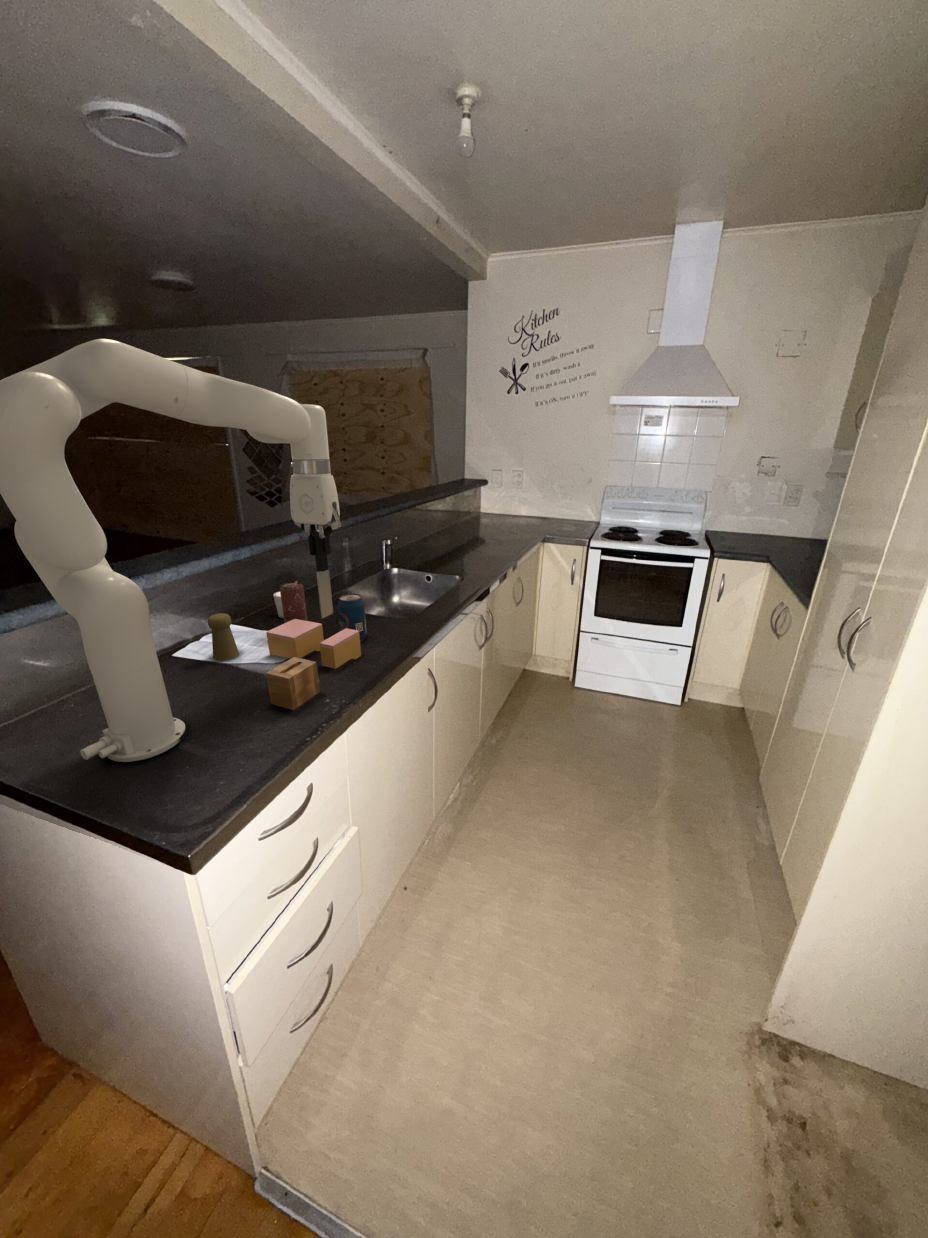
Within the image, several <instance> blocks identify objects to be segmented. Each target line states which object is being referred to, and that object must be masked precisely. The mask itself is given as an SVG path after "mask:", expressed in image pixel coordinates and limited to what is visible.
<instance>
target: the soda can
mask: <svg viewBox="0 0 928 1238" xmlns="http://www.w3.org/2000/svg"><path fill="white" fill-rule="evenodd" d="M337 611H338V622H339V632H340V631H342V630H344V629H346V628H347V629H352V630H358V631H359V635H360V643H361V642H363V641H364V640H365V639H366V637H367V635H368V631H367V630H368V629H367V619H366V606H365V601H364V599H363V598H362V595H361V594H358V593H346V594H342V595H340V596H339V598H338V602H337Z"/></svg>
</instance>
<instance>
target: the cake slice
mask: <svg viewBox="0 0 928 1238" xmlns="http://www.w3.org/2000/svg"><path fill="white" fill-rule="evenodd" d="M319 644H320V651H319V652H320V661H321V667H326V668H330V669H335V670H336V669H337V668H340V667H341V666H342V665H344V664H346V663H347V662H348V661H350V660H358V658H361V657H362V649H361V647H362V646H361V642H360V635H359V631H358V630H352V629H347V628H346V629H344V630H342V631H340V630H339V631H338V632H336V633H335V634H333V635H331V636H329V637H328V638H326V639H324V641H322V642H320V643H319Z"/></svg>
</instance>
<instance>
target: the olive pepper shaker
mask: <svg viewBox="0 0 928 1238" xmlns="http://www.w3.org/2000/svg"><path fill="white" fill-rule="evenodd" d="M231 625H232V618H231V616H230V615H229V614H227V613H224V612H223V613H221V612H220V613H215V614H212V615H210V616H208V619H207V626H208V628H209V629H211V645H212V659H213V661H216V662H226V661H231V660H234V659H236V658H238V657H239V656H240V650H239V649H238V646H237V643H236V640H235V637H234V633H233V632H232V629H231Z"/></svg>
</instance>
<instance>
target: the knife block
mask: <svg viewBox="0 0 928 1238" xmlns="http://www.w3.org/2000/svg"><path fill="white" fill-rule="evenodd" d="M265 677H266V683H267V689H268V690H267V691H268V695H269V702H270V704H271V705H274V706H277V707H280V708H284V709H288V710H291V711H295V710H296V709H297V708H299V707H300V706H302V705H303V704H304V703H306V702H307V701H309V700H311V699H312V698H314V697H315V696H317V695H318V694H319V693H321V686H320V679H319V678H320V677H319V670H318V664H317V661H314V660H309V659H305V658H297V657H293V658H289V659H288V660H286V661H284V662H282V663H280V664H278V665H277V666H275V667H274V668H272V669H269V670H268V671H266V672H265Z"/></svg>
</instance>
